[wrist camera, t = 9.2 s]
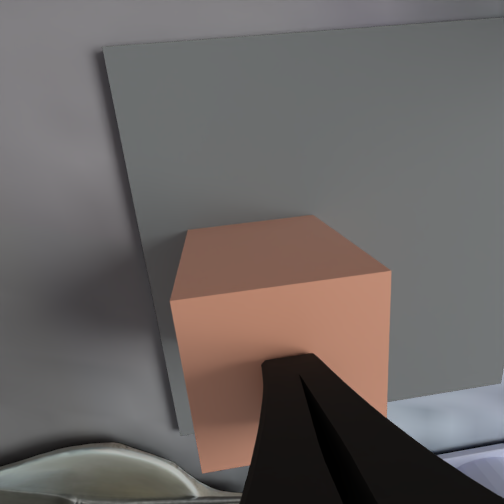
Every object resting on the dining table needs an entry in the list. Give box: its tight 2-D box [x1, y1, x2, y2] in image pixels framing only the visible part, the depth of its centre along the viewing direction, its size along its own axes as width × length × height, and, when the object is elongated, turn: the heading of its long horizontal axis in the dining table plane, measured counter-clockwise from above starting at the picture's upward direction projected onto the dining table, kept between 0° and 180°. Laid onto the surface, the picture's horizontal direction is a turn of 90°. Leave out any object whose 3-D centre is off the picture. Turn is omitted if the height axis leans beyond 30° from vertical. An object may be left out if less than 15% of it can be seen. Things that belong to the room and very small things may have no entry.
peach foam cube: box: [170, 215, 391, 473], centre depth 12 cm, size 5×5×7 cm
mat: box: [102, 17, 504, 436], centre depth 15 cm, size 17×17×1 cm
